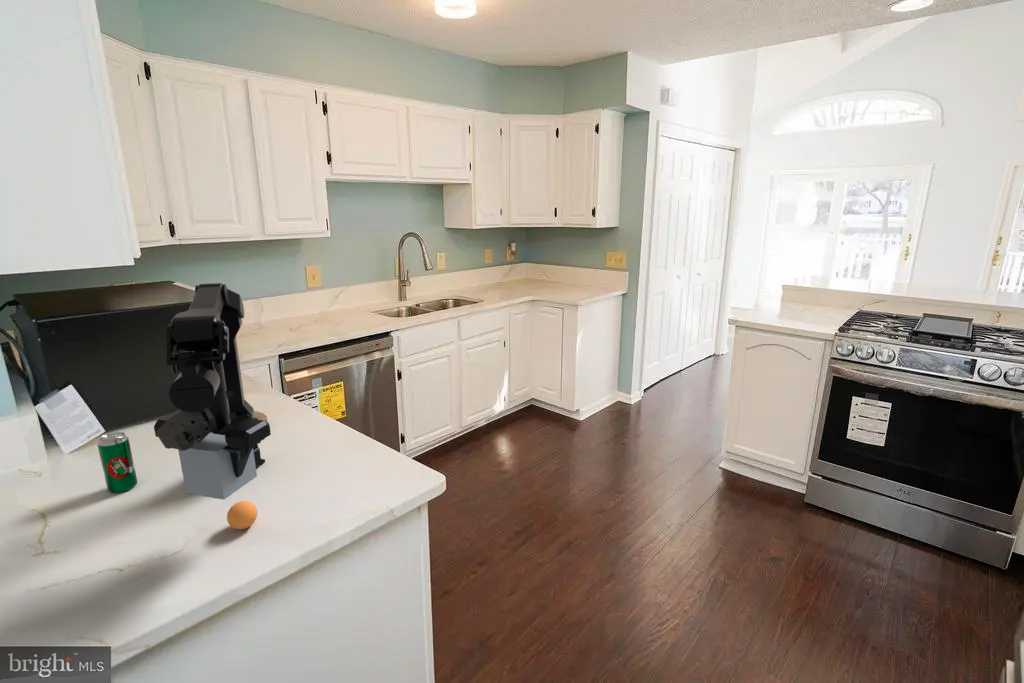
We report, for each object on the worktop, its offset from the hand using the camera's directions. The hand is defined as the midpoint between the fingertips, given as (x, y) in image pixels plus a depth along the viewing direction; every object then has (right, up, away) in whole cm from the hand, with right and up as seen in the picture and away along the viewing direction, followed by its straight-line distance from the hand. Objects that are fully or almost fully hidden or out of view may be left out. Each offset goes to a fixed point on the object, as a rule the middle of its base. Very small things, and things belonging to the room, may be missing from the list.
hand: (219, 473), depth 87 cm
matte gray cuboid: (0, -2, +1) cm, 2 cm away
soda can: (-31, -8, +19) cm, 37 cm away
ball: (+1, -9, +6) cm, 11 cm away
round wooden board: (-23, -2, +45) cm, 51 cm away
